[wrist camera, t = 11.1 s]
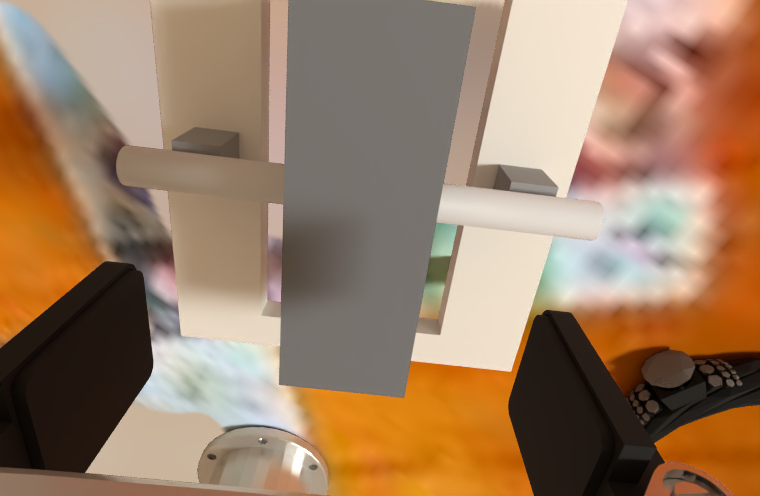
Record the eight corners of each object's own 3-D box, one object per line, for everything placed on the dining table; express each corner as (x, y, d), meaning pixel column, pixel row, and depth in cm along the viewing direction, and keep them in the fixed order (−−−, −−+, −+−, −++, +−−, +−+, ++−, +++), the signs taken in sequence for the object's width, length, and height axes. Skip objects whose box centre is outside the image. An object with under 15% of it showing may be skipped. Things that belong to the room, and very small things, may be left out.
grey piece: (337, -3, 23) (289, -18, 12) (437, 10, 23) (476, 6, 12) (320, 249, 29) (278, 384, 19) (399, 258, 29) (403, 397, 19)
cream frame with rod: (481, 282, 36) (529, 427, 23) (234, 254, 35) (147, 387, 23) (565, -53, 26) (726, -114, 14) (224, -100, 26) (61, -209, 13)
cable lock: (644, 614, 50) (514, 451, 39) (628, 575, 54) (504, 415, 43) (941, 528, 43) (882, 297, 32) (900, 489, 46) (834, 269, 35)
